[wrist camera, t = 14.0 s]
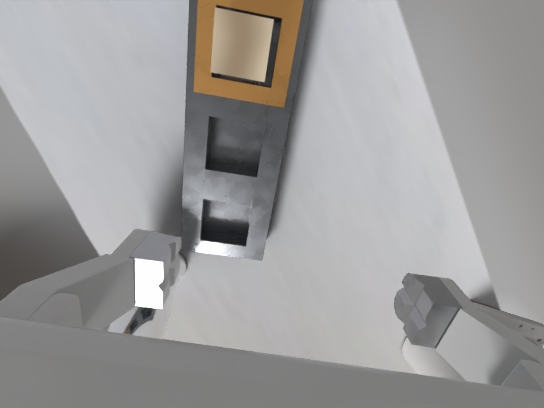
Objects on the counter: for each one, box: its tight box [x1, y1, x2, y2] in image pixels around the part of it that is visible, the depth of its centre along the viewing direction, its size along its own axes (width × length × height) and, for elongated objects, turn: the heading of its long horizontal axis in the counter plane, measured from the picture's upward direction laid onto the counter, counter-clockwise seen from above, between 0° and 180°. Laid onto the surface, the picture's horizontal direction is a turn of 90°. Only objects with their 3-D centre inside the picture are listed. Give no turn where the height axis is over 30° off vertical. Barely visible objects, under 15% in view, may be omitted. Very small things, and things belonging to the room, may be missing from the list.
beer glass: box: [101, 253, 186, 339], centre depth 33 cm, size 7×7×15 cm
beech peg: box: [211, 7, 274, 82], centre depth 24 cm, size 4×4×8 cm
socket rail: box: [180, 0, 313, 260], centre depth 30 cm, size 27×10×4 cm, turn 170°
